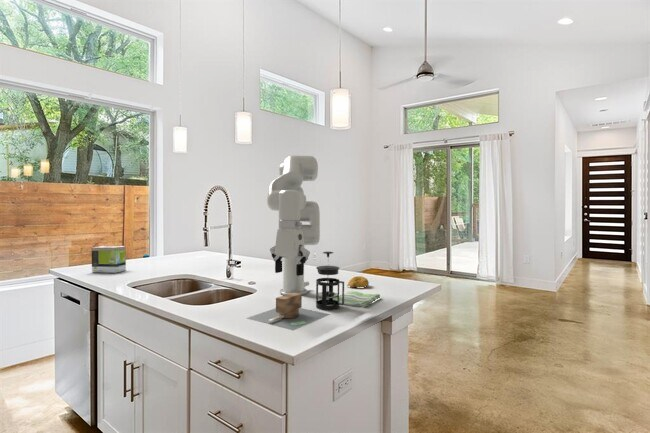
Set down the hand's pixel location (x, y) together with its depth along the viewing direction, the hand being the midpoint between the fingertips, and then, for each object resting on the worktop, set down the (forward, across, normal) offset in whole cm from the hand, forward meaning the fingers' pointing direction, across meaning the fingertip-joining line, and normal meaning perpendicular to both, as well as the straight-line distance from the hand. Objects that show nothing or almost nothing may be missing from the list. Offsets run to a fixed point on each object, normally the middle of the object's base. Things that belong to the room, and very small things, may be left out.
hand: (289, 273), depth 133 cm
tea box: (+15, +144, -9) cm, 146 cm away
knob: (+15, 0, +2) cm, 15 cm away
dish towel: (+17, -5, -36) cm, 40 cm away
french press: (+17, -4, -19) cm, 25 cm away
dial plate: (+17, 0, -1) cm, 17 cm away
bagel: (+16, +7, -62) cm, 64 cm away
